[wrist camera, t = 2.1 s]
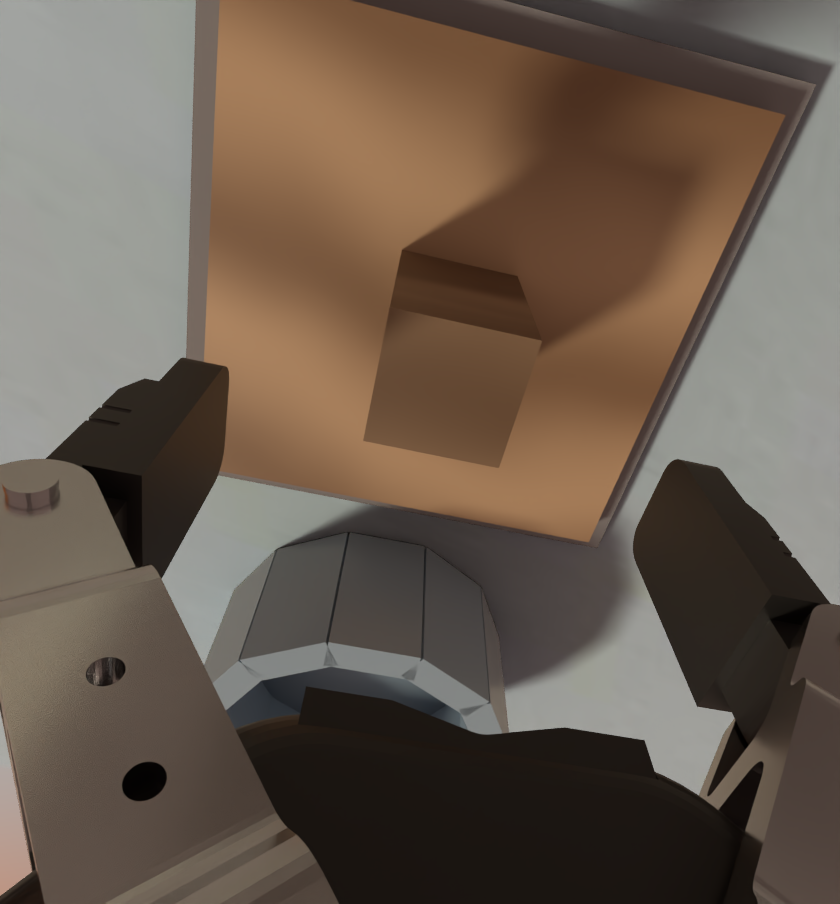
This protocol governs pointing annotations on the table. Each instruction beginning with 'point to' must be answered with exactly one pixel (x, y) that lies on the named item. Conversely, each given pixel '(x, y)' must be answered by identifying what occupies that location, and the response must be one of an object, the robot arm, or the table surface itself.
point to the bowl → (359, 634)
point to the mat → (486, 13)
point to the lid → (454, 258)
